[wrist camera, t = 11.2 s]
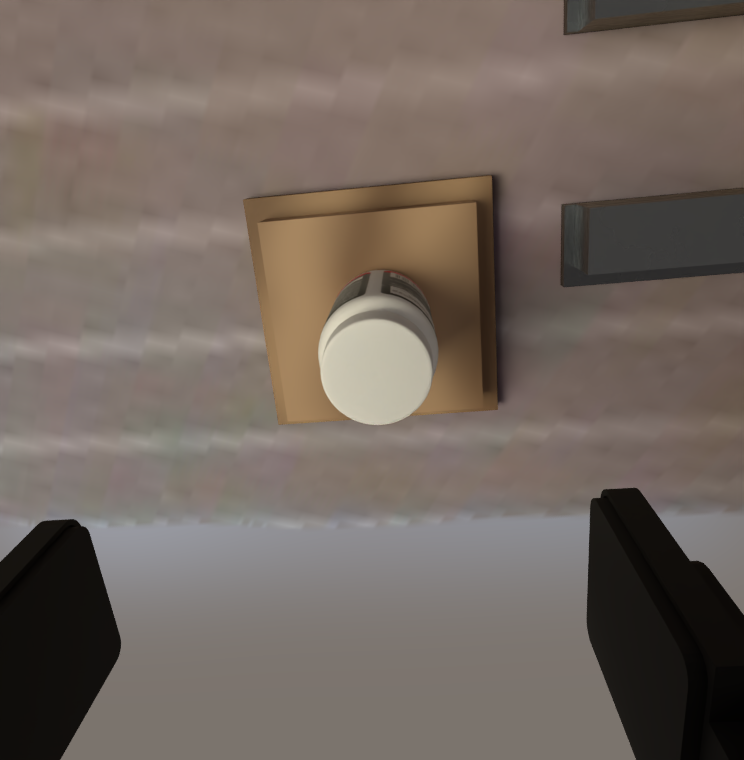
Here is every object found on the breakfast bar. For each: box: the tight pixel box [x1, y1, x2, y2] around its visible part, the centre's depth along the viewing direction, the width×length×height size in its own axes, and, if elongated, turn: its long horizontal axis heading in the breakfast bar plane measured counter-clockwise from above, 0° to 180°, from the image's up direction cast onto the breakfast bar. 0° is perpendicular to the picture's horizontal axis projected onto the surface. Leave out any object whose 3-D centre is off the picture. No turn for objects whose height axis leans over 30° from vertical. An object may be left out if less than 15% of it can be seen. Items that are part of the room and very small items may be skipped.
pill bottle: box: [318, 270, 438, 425], centre depth 25 cm, size 5×5×8 cm
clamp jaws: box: [561, 0, 744, 287], centre depth 27 cm, size 9×15×3 cm, turn 5°
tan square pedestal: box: [243, 175, 498, 425], centre depth 30 cm, size 12×12×3 cm
